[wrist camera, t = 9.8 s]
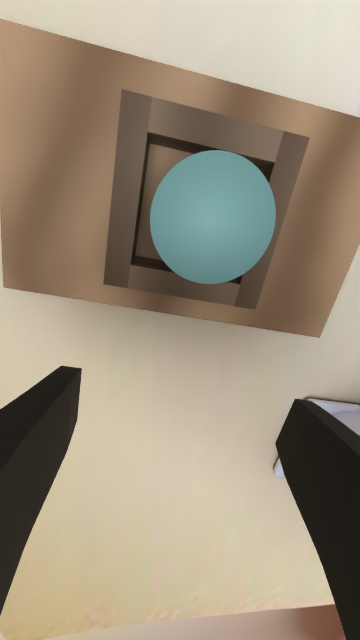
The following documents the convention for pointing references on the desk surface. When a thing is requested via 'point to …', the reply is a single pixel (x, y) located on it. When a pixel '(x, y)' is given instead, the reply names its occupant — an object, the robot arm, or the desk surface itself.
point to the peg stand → (149, 170)
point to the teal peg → (212, 217)
